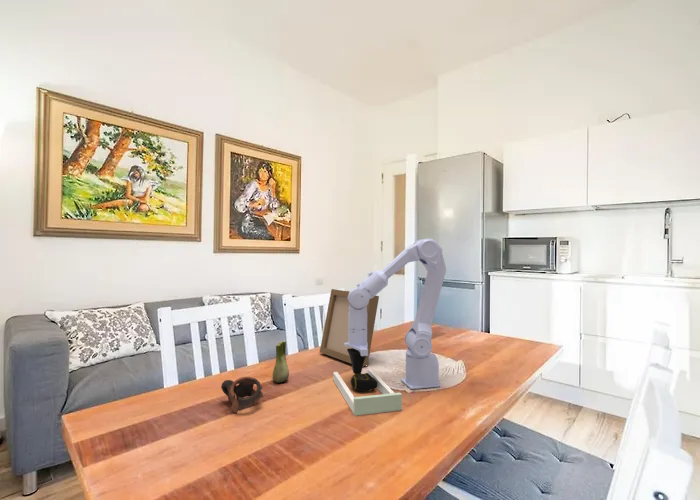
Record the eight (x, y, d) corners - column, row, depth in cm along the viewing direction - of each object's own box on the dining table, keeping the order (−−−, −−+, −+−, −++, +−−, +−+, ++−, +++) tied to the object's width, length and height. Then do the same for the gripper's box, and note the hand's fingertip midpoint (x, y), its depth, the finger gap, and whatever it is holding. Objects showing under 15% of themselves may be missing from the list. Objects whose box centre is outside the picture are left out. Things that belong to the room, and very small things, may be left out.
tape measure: (378, 392, 101) (378, 379, 101) (355, 395, 99) (355, 381, 99) (369, 383, 107) (369, 371, 107) (348, 386, 105) (348, 373, 105)
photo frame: (358, 369, 120) (359, 295, 120) (319, 354, 136) (320, 289, 136) (387, 360, 130) (388, 292, 130) (348, 347, 146) (348, 287, 146)
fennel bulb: (283, 376, 112) (283, 339, 112) (293, 380, 109) (293, 341, 109) (268, 381, 108) (268, 342, 108) (278, 386, 105) (279, 345, 105)
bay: (371, 376, 113) (371, 364, 113) (401, 410, 90) (401, 394, 90) (333, 380, 110) (333, 367, 110) (354, 415, 86) (354, 399, 86)
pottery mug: (269, 399, 97) (270, 379, 92) (251, 429, 88) (251, 408, 84) (230, 384, 99) (229, 364, 95) (209, 413, 91) (207, 391, 87)
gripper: (339, 323, 112) (338, 366, 112) (351, 334, 98) (350, 383, 98) (360, 322, 114) (360, 364, 114) (375, 333, 100) (374, 381, 100)
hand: (357, 373), depth 106 cm, fingers closed
